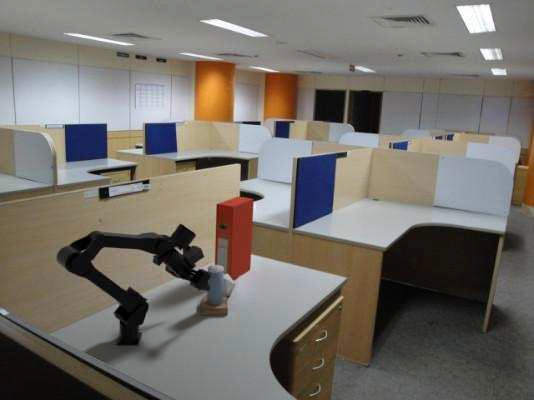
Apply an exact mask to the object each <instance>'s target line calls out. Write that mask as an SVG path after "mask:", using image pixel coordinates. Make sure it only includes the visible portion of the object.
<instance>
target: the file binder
mask: <svg viewBox="0 0 534 400" xmlns="http://www.w3.org/2000/svg"><path fill="white" fill-rule="evenodd" d="M254 201H255V199H254V198H249V197H244V196H243V197H242V196H236V197H232V198H230V199H227V200H224V201H221V202H218V203H216V206H215V207H216V210H215V215H216V216H215V245H214V246H215V247H214V250H215V251H214V265H220V266H223V267H224V274H229V276H230V277H231V279H232V280H233V281H234V280H235V281H236V280H237V278H239V277H240V276H242V275H244V274H245V273H247V272H248V271H250V270H251V266H252V265H251V264H252V263H251V262H252V243H253V226H254V225H253V224H254V222H253V221H254V203H255V202H254Z"/></svg>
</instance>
